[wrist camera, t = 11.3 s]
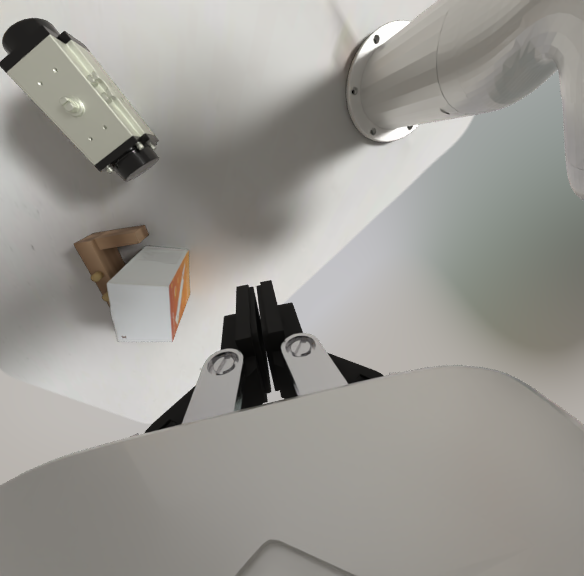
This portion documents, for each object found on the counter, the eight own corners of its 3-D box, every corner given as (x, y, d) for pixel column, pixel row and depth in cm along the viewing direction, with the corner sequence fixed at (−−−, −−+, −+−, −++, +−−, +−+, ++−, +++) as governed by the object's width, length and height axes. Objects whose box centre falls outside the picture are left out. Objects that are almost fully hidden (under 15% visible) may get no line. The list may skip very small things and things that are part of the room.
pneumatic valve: (148, 177, 33) (107, 186, 23) (65, 80, 28) (-39, 35, 17) (181, 152, 33) (153, 151, 22) (103, 48, 27) (18, -18, 17)
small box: (191, 293, 42) (173, 343, 31) (149, 291, 41) (115, 343, 30) (189, 248, 39) (169, 286, 28) (144, 244, 37) (103, 282, 26)
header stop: (144, 224, 36) (127, 237, 31) (179, 309, 43) (171, 331, 38) (93, 233, 35) (67, 247, 30) (138, 318, 43) (123, 341, 37)
